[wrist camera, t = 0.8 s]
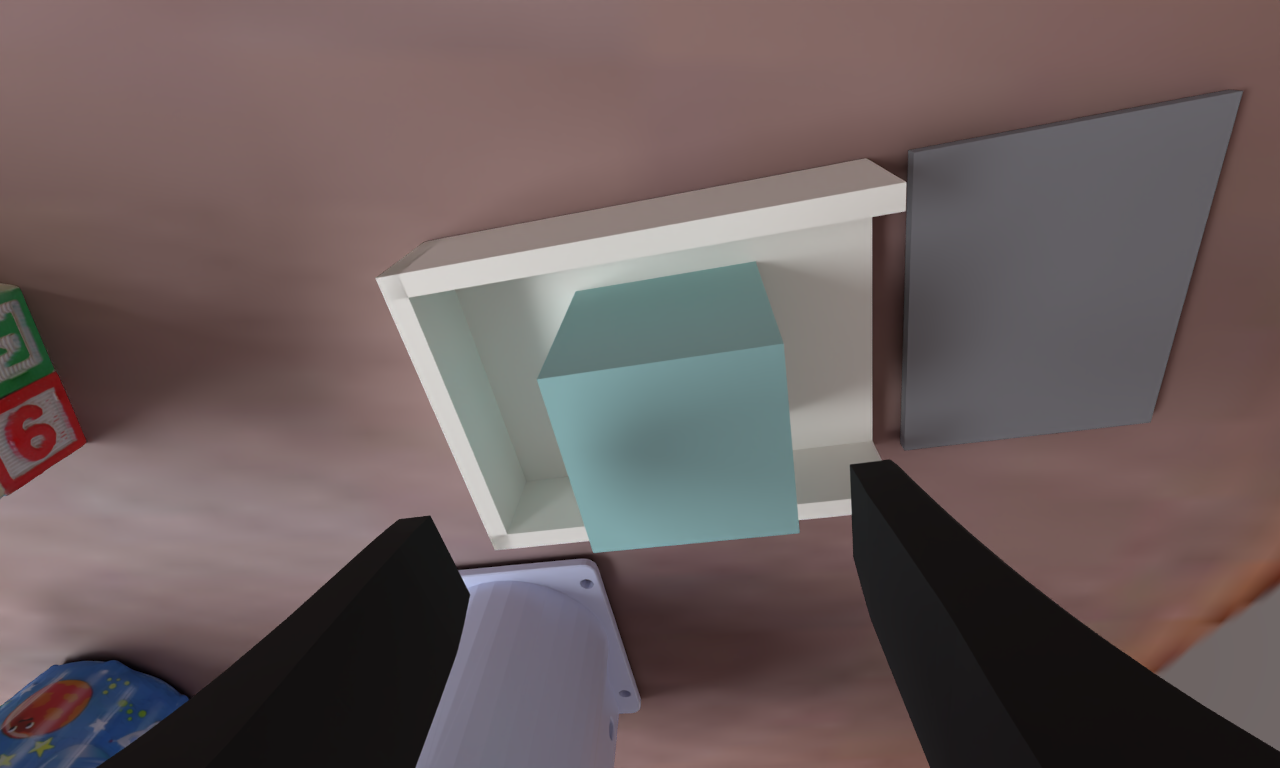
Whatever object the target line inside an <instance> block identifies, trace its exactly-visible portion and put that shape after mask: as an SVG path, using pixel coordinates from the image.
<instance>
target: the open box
mask: <svg viewBox="0 0 1280 768" xmlns="http://www.w3.org/2000/svg"><path fill="white" fill-rule="evenodd" d="M904 211H906V182H905V181H904V180H902V179H900V178H899V177H897V176H895V175H894V174H892V173H890V172H889V171H887V170H885V169H884V168H882V167H880V166H879V165H877V164H875V163H874V162H872V161H870V160H869V159H867V158H865V159H859V160H854V161H849V162H844V163H838V164H833V165H828V166H822V167H817V168H812V169H807V170H801V171H796V172H791V173H785V174H780V175H775V176H770V177H764V178H759V179H754V180H748V181H743V182H738V183H733V184H727V185H722V186H717V187H711V188H706V189H701V190H695V191H690V192H685V193H680V194H674V195H669V196H664V197H658V198H653V199H648V200H643V201H637V202H632V203H627V204H621V205H616V206H611V207H606V208H600V209H595V210H590V211H584V212H579V213H574V214H569V215H563V216H558V217H553V218H547V219H542V220H537V221H531V222H526V223H521V224H516V225H510V226H505V227H500V228H494V229H489V230H484V231H479V232H473V233H468V234H463V235H457V236H452V237H447V238H442V239H436V240H431V241H426V242H423V243H422V244H421V245H419V246H418V247H417V248H415V249H414V250H413V251H411V252H410V253H409V254H407V255H406V256H405V257H403V258H402V259H401V260H399V261H398V262H397V263H395V264H394V265H393V266H391V267H390V268H389V269H387V270H386V271H385V272H383V273H382V274H381V275H379V276H378V277H376V281H377V283H378V285H379V287H380V290H381V292H382V294H383V297H384V299H385V301H386V303H387V306H388V308H389V310H390V313H391V315H392V317H393V319H394V322H395V324H396V326H397V328H398V331H399V333H400V335H401V338H402V340H403V342H404V344H405V347H406V349H407V351H408V353H409V356H410V358H411V360H412V363H413V365H414V367H415V369H416V372H417V374H418V376H419V379H420V381H421V383H422V385H423V388H424V390H425V392H426V394H427V397H428V399H429V401H430V404H431V406H432V408H433V410H434V413H435V415H436V417H437V420H438V422H439V424H440V426H441V429H442V431H443V433H444V435H445V438H446V440H447V442H448V445H449V447H450V449H451V451H452V454H453V456H454V458H455V460H456V463H457V465H458V467H459V470H460V472H461V474H462V476H463V479H464V481H465V483H466V486H467V488H468V490H469V492H470V495H471V497H472V499H473V501H474V504H475V506H476V508H477V511H478V513H479V515H480V517H481V520H482V522H483V524H484V526H485V529H486V531H487V533H488V536H489V538H490V540H491V542H492V545H493V547H494V549H495V550H504V549H514V548H524V547H534V546H544V545H554V544H564V543H574V542H584V541H589V538H588V535H587V532H586V529H585V526H584V523H583V520H582V517H581V514H580V510H579V507H578V504H577V501H576V498H575V495H574V492H573V489H572V486H571V483H570V480H569V477H568V474H567V471H566V468H565V464H564V461H563V458H562V455H561V452H560V449H559V446H558V443H557V440H556V437H555V434H554V431H553V428H552V425H551V422H550V418H549V415H548V412H547V409H546V406H545V403H544V400H543V397H542V394H541V391H540V388H539V385H538V382H537V378H538V376H539V373H540V371H541V369H542V366H543V364H544V362H545V360H546V357H547V355H548V353H549V351H550V348H551V346H552V344H553V342H554V339H555V337H556V335H557V332H558V330H559V328H560V326H561V323H562V321H563V319H564V317H565V314H566V312H567V310H568V307H569V305H570V303H571V301H572V298H573V296H574V294H575V292H576V291H581V290H587V289H593V288H599V287H605V286H611V285H617V284H623V283H629V282H635V281H641V280H647V279H653V278H659V277H665V276H671V275H677V274H683V273H688V272H694V271H700V270H706V269H712V268H718V267H724V266H730V265H736V264H742V263H748V262H754V261H756V264H757V267H758V270H759V273H760V276H761V279H762V282H763V285H764V288H765V291H766V293H767V296H768V299H769V302H770V305H771V308H772V311H773V314H774V317H775V320H776V323H777V326H778V329H779V332H780V334H781V337H782V340H783V343H784V354H785V366H786V378H787V389H788V401H789V413H790V425H791V437H792V449H793V461H794V472H795V484H796V496H797V508H798V520H806V519H816V518H826V517H836V516H846V515H852V509H851V485H850V464H858V463H866V462H874V461H882V460H881V458H880V455H879V453H878V451H877V449H876V447H875V445H874V443H873V441H872V217H875V216H881V215H887V214H893V213H898V212H904Z"/></svg>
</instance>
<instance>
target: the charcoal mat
mask: <svg viewBox="0 0 1280 768" xmlns="http://www.w3.org/2000/svg"><path fill="white" fill-rule="evenodd" d="M1242 93H1243V91H1239V90H1225V91H1219V92H1214V93H1209V94H1203V95H1198V96H1193V97H1187V98H1182V99H1177V100H1172V101H1166V102H1161V103H1156V104H1150V105H1145V106H1140V107H1135V108H1129V109H1124V110H1119V111H1113V112H1108V113H1103V114H1098V115H1092V116H1087V117H1082V118H1076V119H1071V120H1066V121H1061V122H1055V123H1050V124H1045V125H1039V126H1034V127H1029V128H1023V129H1018V130H1013V131H1008V132H1002V133H997V134H992V135H986V136H981V137H976V138H971V139H965V140H960V141H955V142H949V143H944V144H939V145H934V146H928V147H923V148H918V149H912V150H908V181H907V217H906V254H905V290H904V327H903V363H902V400H901V436H900V443H901V445H902V447H903V449H904V450H913V449H922V448H930V447H939V446H948V445H957V444H965V443H974V442H983V441H992V440H1000V439H1009V438H1018V437H1027V436H1036V435H1044V434H1053V433H1062V432H1071V431H1079V430H1088V429H1097V428H1106V427H1114V426H1123V425H1132V424H1141V423H1149V422H1151V419H1152V415H1153V411H1154V408H1155V404H1156V401H1157V397H1158V394H1159V390H1160V386H1161V383H1162V379H1163V376H1164V372H1165V369H1166V365H1167V361H1168V358H1169V354H1170V351H1171V347H1172V344H1173V340H1174V336H1175V333H1176V329H1177V326H1178V322H1179V318H1180V315H1181V311H1182V308H1183V304H1184V301H1185V297H1186V293H1187V290H1188V286H1189V283H1190V279H1191V276H1192V272H1193V268H1194V265H1195V261H1196V258H1197V254H1198V250H1199V247H1200V243H1201V240H1202V236H1203V233H1204V229H1205V225H1206V222H1207V218H1208V215H1209V211H1210V208H1211V204H1212V200H1213V197H1214V193H1215V190H1216V186H1217V182H1218V179H1219V175H1220V172H1221V168H1222V165H1223V161H1224V157H1225V154H1226V150H1227V147H1228V143H1229V140H1230V136H1231V132H1232V129H1233V125H1234V122H1235V118H1236V115H1237V111H1238V107H1239V104H1240V100H1241V97H1242Z"/></svg>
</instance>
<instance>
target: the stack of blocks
mask: <svg viewBox="0 0 1280 768" xmlns="http://www.w3.org/2000/svg"><path fill="white" fill-rule="evenodd" d="M85 443H86V439H85V436H84V434H83V432H82V429H81V427H80V425H79V422H78V420H77V418H76V415H75V413H74V411H73V408H72V406H71V404H70V401H69V399H68V397H67V395H66V392H65V390H64V387H63V385H62V383H61V381H60V378H59V376H58V374H57V373H56V371H55V370H54V367H53V365H52V363H51V361H50V358H49V356H48V354H47V351H46V349H45V346H44V344H43V342H42V339H41V337H40V335H39V332H38V330H37V327H36V325H35V323H34V320H33V318H32V316H31V313H30V311H29V309H28V306H27V304H26V302H25V299H24V297H23V294H22V292H21V290H20V288H19V287H18V286H15V285H10V284H4V283H0V498H2V497H3V496H8V495H9V494H11V493H13V492H14V491H16V490H17V489H19V488H21V487H22V486H24V485H25V484H27V483H28V482H30V481H31V480H32V479H34V478H35V477H37V476H38V475H40V474H42V473H43V472H44V471H45V470H47V469H48V468H50V467H51V466H53V465H54V464H56V463H57V462H59V461H60V460H62V459H64V458H65V457H67V456H68V455H70V454H72V453H73V452H74V451H76V450H77V449H79V448H81V447H82V446H83V445H84V444H85Z"/></svg>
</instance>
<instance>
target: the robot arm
mask: <svg viewBox="0 0 1280 768" xmlns="http://www.w3.org/2000/svg"><path fill="white" fill-rule="evenodd" d="M850 485H851V509H852V533H853V557H854V561H855V565H856V568H857V572H858V576H859V579H860V583H861V587H862V590H863V594H864V597H865V601H866V604H867V608H868V611H869V615H870V618H871V621H872V623H873V626H874V628H875V631H876V634H877V636H878V639H879V641H880V644H881V646H882V649H883V651H884V654H885V656H886V659H887V661H888V664H889V666H890V669H891V671H892V674H893V676H894V679H895V681H896V684H897V686H898V689H899V691H900V694H901V696H902V699H903V701H904V704H905V706H906V709H907V711H908V713H909V716H910V718H911V721H912V723H913V726H914V728H915V731H916V733H917V736H918V738H919V741H920V743H921V746H922V748H923V751H924V753H925V756H926V758H927V761H928V763H929V766H930V768H1280V751H1278V750H1276V749H1274V748H1273V747H1271V746H1270V745H1268V744H1266V743H1264V742H1263V741H1261V740H1260V739H1258V738H1256V737H1255V736H1253V735H1251V734H1250V733H1248V732H1246V731H1245V730H1243V729H1241V728H1240V727H1238V726H1236V725H1235V724H1233V723H1231V722H1230V721H1228V720H1226V719H1225V718H1223V717H1221V716H1220V715H1218V714H1216V713H1215V712H1213V711H1211V710H1210V709H1208V708H1206V707H1205V706H1203V705H1202V704H1200V703H1199V702H1197V701H1196V700H1194V699H1193V698H1191V697H1190V696H1188V695H1186V694H1185V693H1183V692H1182V691H1180V690H1179V689H1177V688H1176V687H1174V686H1173V685H1171V684H1170V683H1168V682H1166V681H1165V680H1163V679H1162V678H1160V677H1159V676H1157V675H1156V674H1154V673H1153V672H1151V671H1150V670H1148V669H1147V668H1146V667H1144V666H1143V665H1141V664H1140V663H1138V662H1137V661H1135V660H1134V659H1132V658H1131V657H1130V656H1128V655H1127V654H1125V653H1124V652H1122V651H1121V650H1119V649H1118V648H1116V647H1115V646H1114V645H1112V644H1111V643H1109V642H1108V641H1106V640H1105V639H1104V638H1102V637H1101V636H1099V635H1098V634H1097V633H1095V632H1094V631H1093V630H1091V629H1090V628H1088V627H1087V626H1086V625H1084V624H1083V623H1082V622H1080V621H1079V620H1078V619H1076V618H1075V617H1073V616H1072V615H1071V614H1069V613H1068V612H1067V611H1065V610H1064V609H1063V608H1061V607H1060V606H1059V605H1058V604H1056V603H1055V602H1054V601H1052V600H1051V599H1050V598H1049V597H1047V596H1046V595H1045V594H1043V593H1042V592H1041V591H1040V590H1038V589H1037V588H1036V587H1034V586H1033V585H1032V584H1031V583H1029V582H1028V581H1027V580H1026V579H1024V578H1023V577H1022V576H1021V575H1019V574H1018V573H1017V572H1016V571H1014V570H1013V569H1012V568H1011V567H1010V566H1008V565H1007V564H1006V563H1005V562H1003V561H1002V560H1001V559H1000V558H999V557H998V556H996V555H995V554H994V553H993V552H992V551H991V550H989V549H988V548H987V547H986V546H985V545H984V544H982V543H981V542H980V541H979V540H978V539H976V538H975V537H974V536H973V535H972V534H971V533H969V532H968V531H967V530H966V529H965V528H964V527H963V526H962V525H960V524H959V523H958V522H957V521H956V520H955V519H954V518H953V517H952V516H950V515H949V514H948V513H947V512H946V511H945V510H944V509H943V508H942V507H941V506H940V505H939V504H937V503H936V502H935V501H934V500H933V499H932V498H931V497H930V496H929V495H928V494H927V493H926V492H925V491H924V490H923V489H922V488H920V487H919V486H918V485H917V484H916V483H915V482H914V481H913V480H912V479H911V478H910V477H909V476H908V475H907V474H906V473H905V472H904V471H903V470H902V469H901V468H900V467H899V466H898V465H897V464H895V463H894V462H893V461H891V460H882V461H874V462H866V463H858V464H850ZM585 579H588V580H591V581H588V580H585ZM640 707H641V698H640V695H639V692H638V689H637V686H636V683H635V679H634V676H633V673H632V670H631V667H630V664H629V661H628V658H627V655H626V652H625V649H624V646H623V643H622V640H621V637H620V633H619V630H618V627H617V624H616V621H615V618H614V615H613V612H612V609H611V606H610V603H609V600H608V597H607V594H606V591H605V588H604V584H603V581H602V578H601V575H600V572H599V569H598V566H597V565H596V563H595V562H593V561H592V560H589V559H583V558H582V559H571V560H561V561H550V562H540V563H529V564H519V565H508V566H498V567H487V568H477V569H466V570H458V569H457V567H456V565H455V563H454V561H453V559H452V557H451V555H450V553H449V551H448V550H447V548H446V546H445V544H444V542H443V540H442V538H441V536H440V534H439V532H438V530H437V528H436V526H435V524H434V522H433V520H432V518H431V516H423V517H414V518H406V519H399V520H398V521H396V522H395V523H394V524H393V525H391V526H390V527H389V528H388V529H386V530H385V531H384V532H383V533H382V534H380V535H379V536H378V537H377V538H376V539H375V540H374V541H372V542H371V543H370V544H369V545H368V546H367V547H366V548H364V549H363V550H362V551H361V552H360V553H359V554H358V555H357V556H356V557H354V558H353V559H352V560H351V561H350V562H349V563H348V564H347V565H346V566H345V567H343V568H342V569H341V570H340V571H339V572H338V573H337V574H336V575H335V576H334V577H332V578H331V579H330V580H329V581H328V582H327V583H326V584H325V585H324V586H322V587H321V588H320V589H319V590H318V591H317V592H316V593H315V594H314V595H312V596H311V597H310V598H309V599H308V600H307V601H306V602H305V603H304V604H303V605H301V606H300V607H299V608H298V609H297V610H296V611H295V612H294V613H293V614H291V615H290V616H289V617H288V618H287V619H286V620H285V621H283V622H282V623H281V624H280V625H279V626H278V627H276V628H275V629H274V630H273V631H272V632H270V633H269V634H268V635H267V636H266V637H265V638H263V639H262V640H261V641H260V642H259V643H258V644H256V645H255V646H254V647H253V648H252V649H251V650H249V651H248V652H247V653H246V654H245V655H244V656H242V657H241V658H240V659H239V660H238V661H236V662H235V663H234V664H233V665H232V666H231V667H229V668H228V669H227V670H226V671H225V672H223V673H222V674H221V675H220V676H219V677H217V678H216V679H215V680H214V681H212V682H211V683H210V684H209V685H207V686H206V687H205V688H204V689H202V690H201V691H200V692H198V693H197V694H196V695H195V696H193V697H192V698H191V699H190V700H188V701H187V702H186V703H184V704H183V705H182V706H180V707H179V708H178V709H176V710H175V711H174V712H172V713H171V714H170V715H168V716H167V717H166V718H164V719H163V720H162V721H161V722H159V723H158V724H157V725H155V726H154V727H153V728H151V729H150V730H149V731H147V732H146V733H145V734H143V735H142V736H140V737H139V738H138V739H136V740H135V741H134V742H132V743H131V744H129V745H128V746H127V747H125V748H124V749H122V750H121V751H119V752H118V753H116V754H115V755H113V756H112V757H111V758H109V759H108V760H106V761H105V762H103V763H102V764H100V765H99V766H97V767H96V768H614V760H615V750H616V739H617V729H618V718H619V714H623V713H635V712H637V711H639V709H640Z"/></svg>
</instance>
